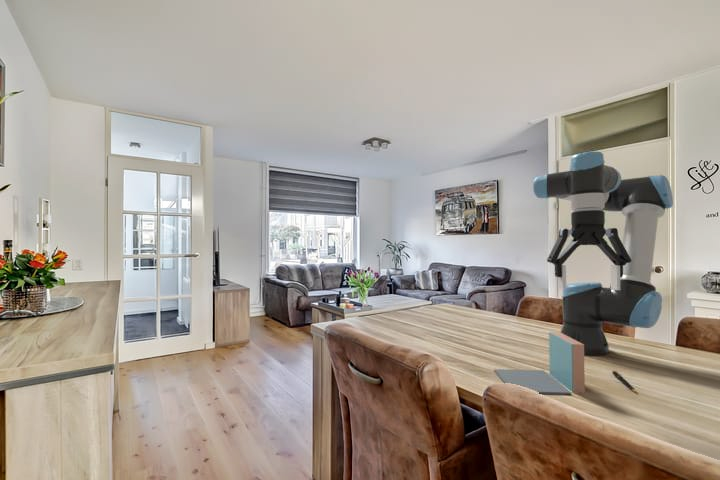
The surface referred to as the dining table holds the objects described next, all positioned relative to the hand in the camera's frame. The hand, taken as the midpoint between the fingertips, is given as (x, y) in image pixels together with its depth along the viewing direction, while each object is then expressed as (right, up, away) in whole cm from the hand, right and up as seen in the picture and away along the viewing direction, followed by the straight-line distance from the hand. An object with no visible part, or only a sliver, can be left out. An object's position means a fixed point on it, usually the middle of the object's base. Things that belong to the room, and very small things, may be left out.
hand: (588, 289), depth 92 cm
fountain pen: (+9, -25, -1) cm, 27 cm away
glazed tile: (-6, -25, 0) cm, 26 cm away
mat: (-16, -25, 0) cm, 30 cm away
